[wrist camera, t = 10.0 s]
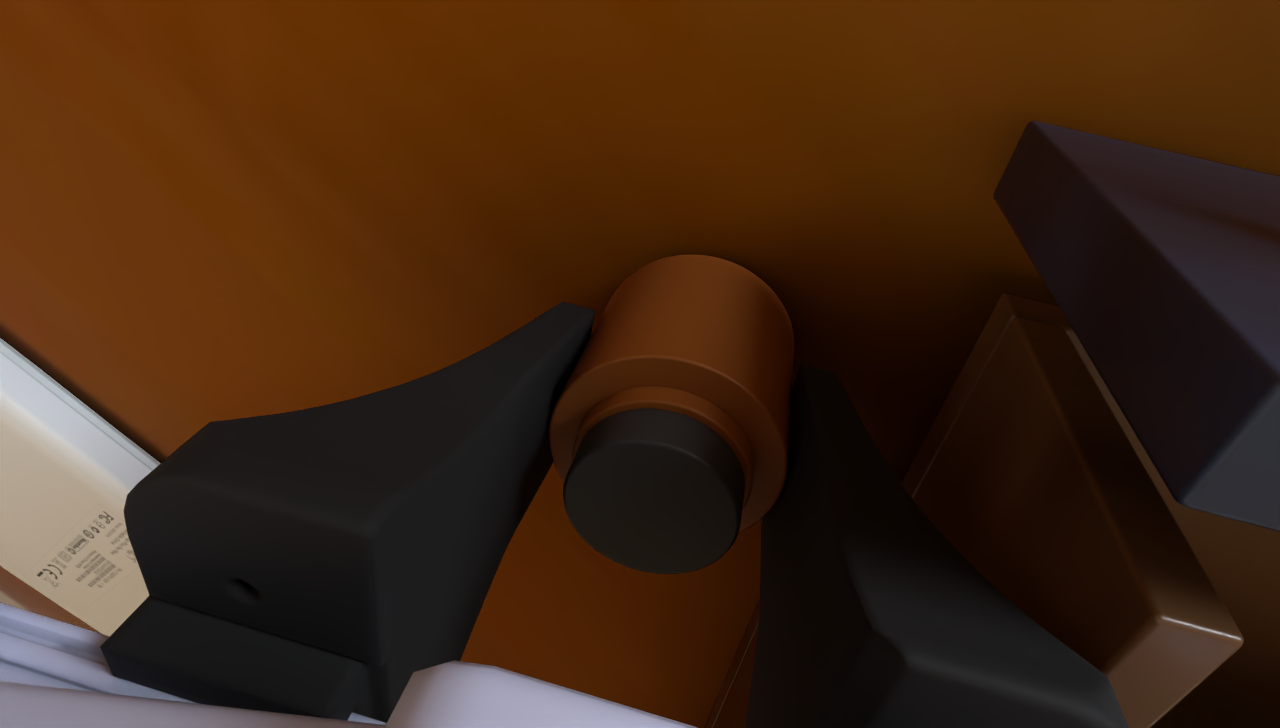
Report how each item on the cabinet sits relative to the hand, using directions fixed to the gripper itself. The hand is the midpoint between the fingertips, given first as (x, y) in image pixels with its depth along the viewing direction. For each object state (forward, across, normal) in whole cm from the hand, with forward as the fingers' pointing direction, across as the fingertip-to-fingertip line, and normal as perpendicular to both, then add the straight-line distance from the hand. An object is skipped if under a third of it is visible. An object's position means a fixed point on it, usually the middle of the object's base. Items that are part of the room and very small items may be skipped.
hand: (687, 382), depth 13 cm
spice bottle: (+1, 0, 0) cm, 1 cm away
